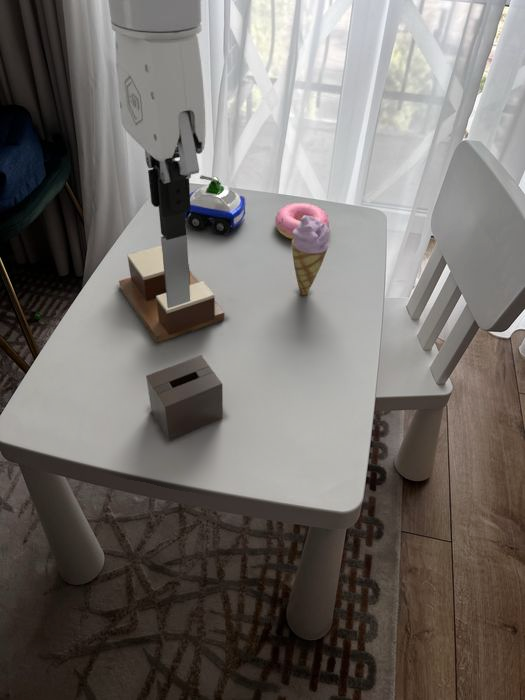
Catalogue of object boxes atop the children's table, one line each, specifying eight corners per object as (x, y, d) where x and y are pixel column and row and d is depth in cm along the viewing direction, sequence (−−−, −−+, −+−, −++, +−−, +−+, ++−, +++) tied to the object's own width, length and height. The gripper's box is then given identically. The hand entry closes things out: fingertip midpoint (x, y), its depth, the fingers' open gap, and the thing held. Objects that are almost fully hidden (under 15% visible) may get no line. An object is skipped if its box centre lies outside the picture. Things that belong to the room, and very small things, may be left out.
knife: (170, 311, 65) (158, 171, 53) (165, 304, 66) (151, 165, 54) (192, 304, 66) (185, 165, 54) (187, 296, 67) (178, 159, 55)
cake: (146, 301, 88) (143, 277, 85) (130, 279, 92) (127, 254, 89) (190, 287, 91) (189, 263, 88) (173, 266, 95) (171, 242, 92)
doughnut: (318, 250, 104) (321, 231, 101) (266, 236, 107) (267, 218, 104) (334, 223, 111) (337, 205, 109) (285, 211, 114) (286, 193, 111)
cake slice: (169, 335, 83) (166, 310, 79) (158, 320, 85) (155, 295, 81) (215, 319, 86) (214, 294, 82) (203, 305, 88) (202, 280, 85)
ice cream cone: (284, 280, 97) (291, 205, 86) (318, 279, 97) (329, 205, 87) (288, 303, 92) (296, 227, 81) (324, 303, 92) (336, 227, 82)
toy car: (195, 205, 114) (193, 163, 108) (249, 215, 112) (250, 172, 106) (179, 227, 108) (176, 183, 101) (236, 237, 106) (237, 194, 99)
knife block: (169, 441, 70) (165, 407, 65) (151, 410, 74) (145, 375, 69) (222, 417, 73) (222, 383, 69) (203, 389, 77) (201, 354, 72)
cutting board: (156, 343, 83) (155, 336, 82) (119, 287, 93) (118, 280, 92) (224, 319, 88) (224, 312, 87) (182, 268, 98) (182, 262, 97)
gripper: (80, -10, 47) (111, 184, 60) (151, 37, 38) (169, 254, 51) (159, -14, 50) (172, 171, 63) (242, 28, 41) (238, 235, 54)
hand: (171, 207), depth 57 cm, fingers closed on knife, 1 cm apart
